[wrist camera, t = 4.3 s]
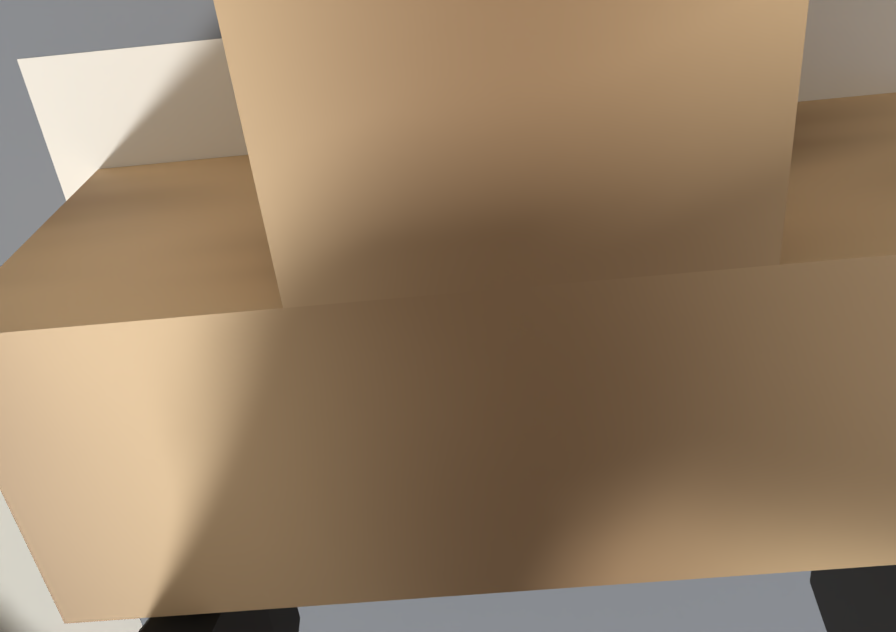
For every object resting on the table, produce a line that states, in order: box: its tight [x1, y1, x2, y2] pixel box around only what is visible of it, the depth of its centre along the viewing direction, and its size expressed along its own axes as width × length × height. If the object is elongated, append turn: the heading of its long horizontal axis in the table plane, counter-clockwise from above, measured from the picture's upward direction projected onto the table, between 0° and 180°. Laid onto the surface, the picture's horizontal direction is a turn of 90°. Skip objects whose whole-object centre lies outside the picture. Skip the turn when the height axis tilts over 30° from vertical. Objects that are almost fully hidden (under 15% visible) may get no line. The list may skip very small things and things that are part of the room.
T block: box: [0, 0, 896, 623], centre depth 8 cm, size 10×8×4 cm
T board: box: [0, 0, 896, 632], centre depth 13 cm, size 14×23×1 cm, turn 6°
